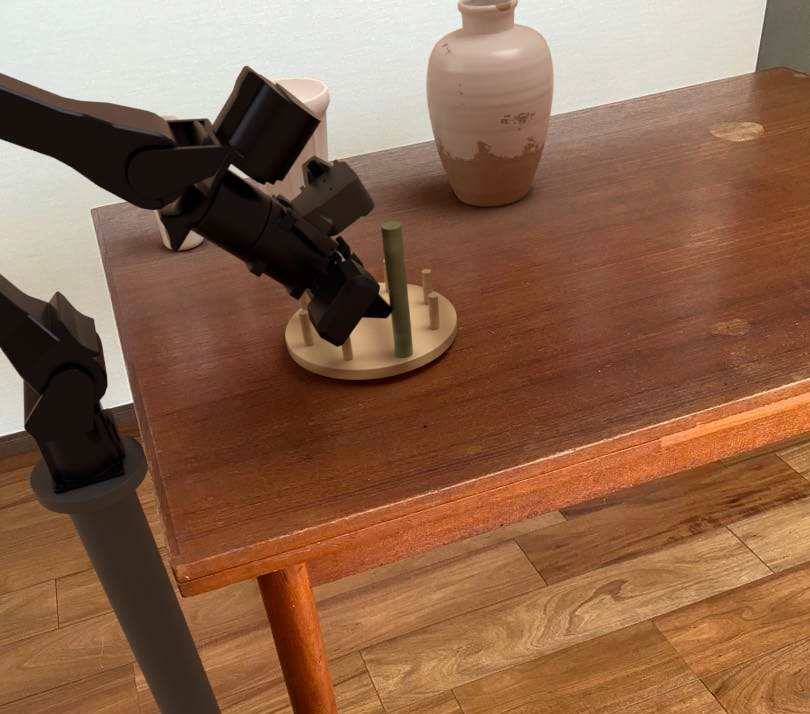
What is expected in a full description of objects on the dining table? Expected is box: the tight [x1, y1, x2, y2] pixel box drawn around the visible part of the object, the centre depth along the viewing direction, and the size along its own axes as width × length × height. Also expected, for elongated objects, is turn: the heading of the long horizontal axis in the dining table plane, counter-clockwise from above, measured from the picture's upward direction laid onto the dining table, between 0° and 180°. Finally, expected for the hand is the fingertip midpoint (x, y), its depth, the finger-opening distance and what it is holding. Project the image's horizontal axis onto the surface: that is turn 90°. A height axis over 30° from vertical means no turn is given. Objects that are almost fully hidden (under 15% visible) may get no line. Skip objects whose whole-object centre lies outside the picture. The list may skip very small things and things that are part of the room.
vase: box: [425, 0, 555, 207], centre depth 112 cm, size 16×16×23 cm
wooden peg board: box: [284, 220, 458, 381], centre depth 88 cm, size 18×18×14 cm
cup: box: [258, 77, 331, 201], centre depth 115 cm, size 12×12×15 cm
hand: (389, 312), depth 84 cm, fingers closed, pressing on wooden peg board
